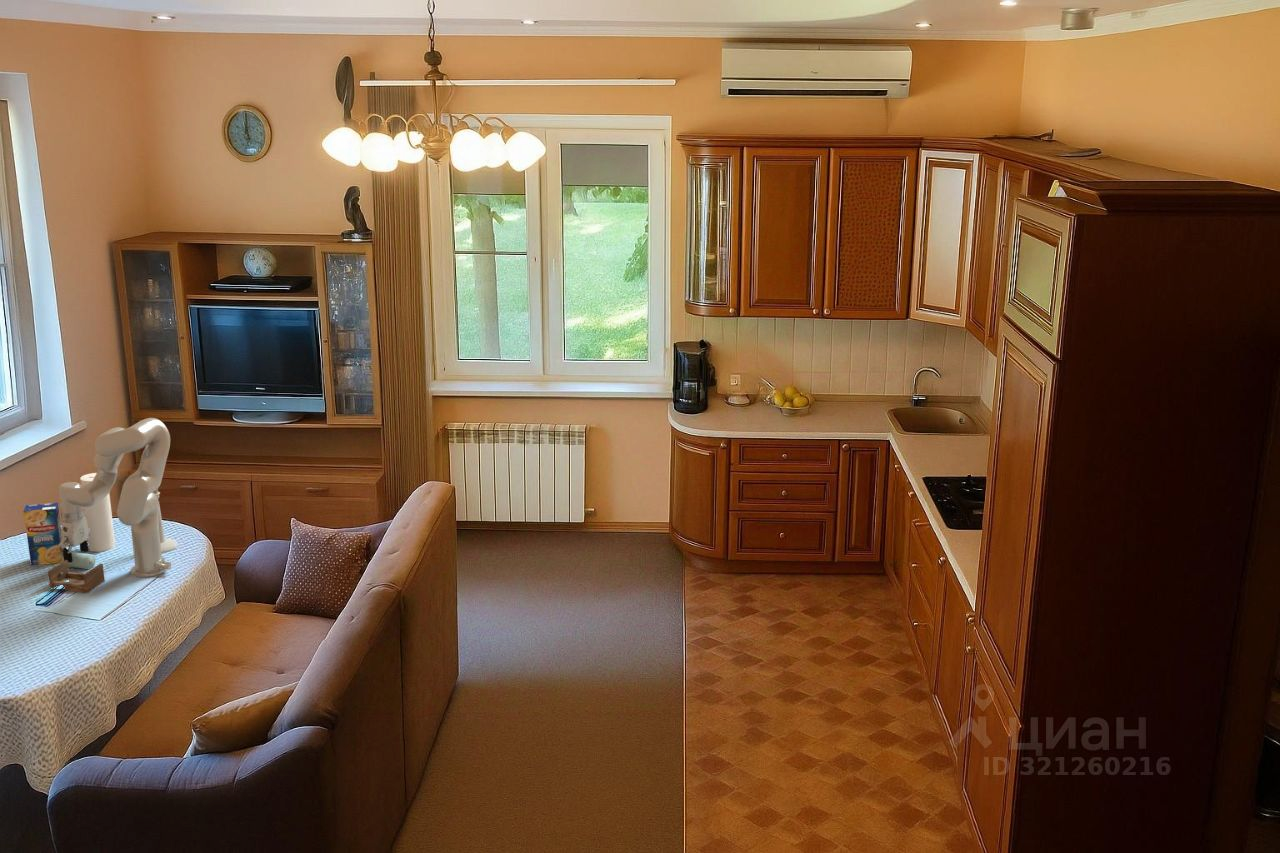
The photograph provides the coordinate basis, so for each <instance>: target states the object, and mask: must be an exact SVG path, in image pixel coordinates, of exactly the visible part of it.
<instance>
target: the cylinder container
mask: <svg viewBox="0 0 1280 853" xmlns="http://www.w3.org/2000/svg"><path fill="white" fill-rule="evenodd" d="M96 473H97V472H92V473H87V474H84V475H81V477H80V478H79V479H80V485H81V487H83V486H85V485H87V484H89V483H90V482H92V481H93V479H94V477H95V475H96ZM83 510H84V515H85V517H86V521H87V525H88V528H90V533H89V534H90V536H89V538H88V539H89V541H88V548H89V551H91V552H93V553H94V552H95V553H96V552H97V553H99V552H107V551H109V550H113V549H114V548H115V547H116V540H115V531H114V521H113V514H112V506H111V496H110V493H109V494H108V495H107V496H106V497H104V498H103V499H101V500H100V501H99V502H97V503H96V504H94V505H93V506H91V507H83Z"/></svg>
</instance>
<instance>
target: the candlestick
mask: <svg viewBox="0 0 1280 853" xmlns="http://www.w3.org/2000/svg"><path fill="white" fill-rule="evenodd" d="M153 493H154V494H155V495H156V496H157V498H158V499H160V494H161V492H160V491H159V487H158V488H157V489H156V490H155V491H154V492H153ZM158 523H159V535H160V544H161V554H164V553H165V552H166V553H169V552H171V551H174V550H176V549H177V548H178V547H179V543H178V541H177V540H175V539H172V538H166V537H165V532H164V525H163V520H162V512H161V506H160V505H159V514H158ZM177 546H178V547H177ZM168 551H169V552H168Z"/></svg>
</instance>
